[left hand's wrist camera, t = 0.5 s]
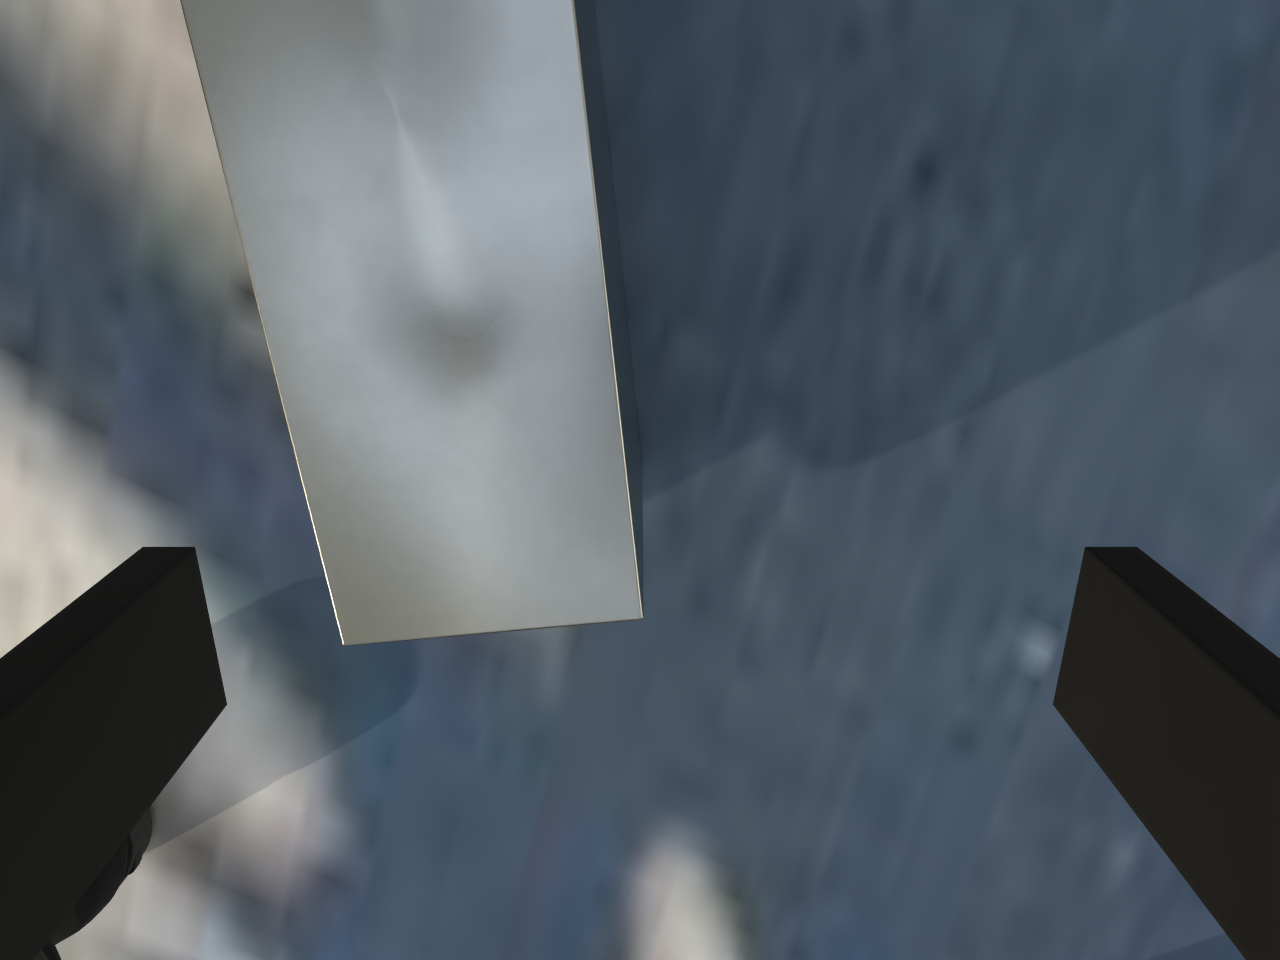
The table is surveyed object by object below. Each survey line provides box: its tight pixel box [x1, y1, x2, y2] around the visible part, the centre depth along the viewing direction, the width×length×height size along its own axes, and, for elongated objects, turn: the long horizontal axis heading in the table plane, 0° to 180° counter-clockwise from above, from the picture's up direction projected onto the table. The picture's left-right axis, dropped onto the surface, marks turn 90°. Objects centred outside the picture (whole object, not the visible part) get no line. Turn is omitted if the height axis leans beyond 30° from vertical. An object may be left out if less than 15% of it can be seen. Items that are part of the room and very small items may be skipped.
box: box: [180, 0, 643, 646], centre depth 24 cm, size 26×8×13 cm, turn 6°
